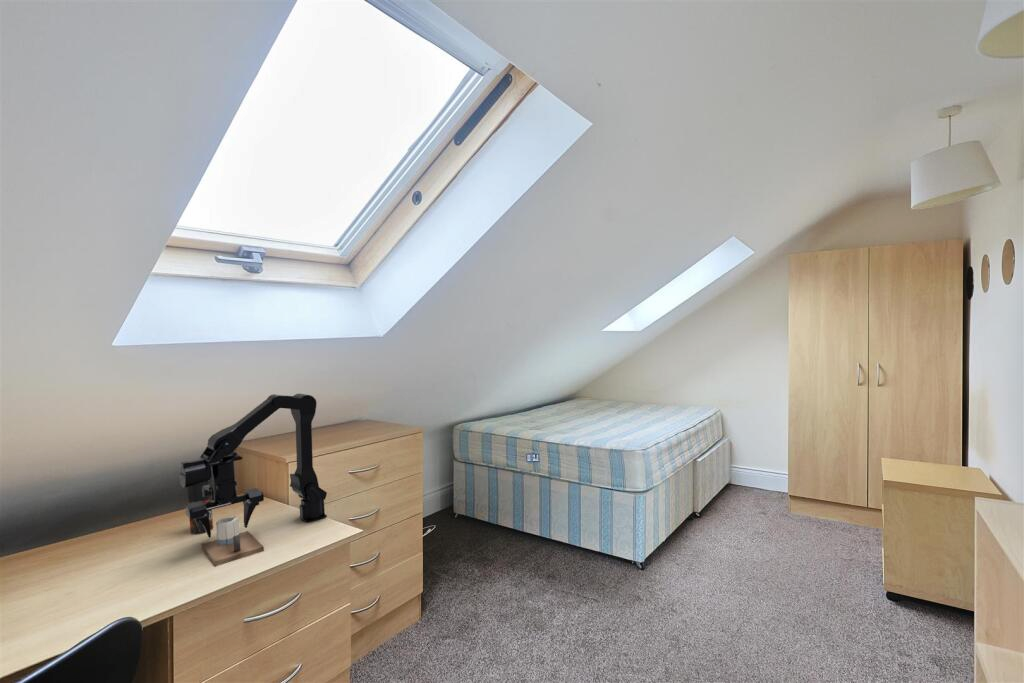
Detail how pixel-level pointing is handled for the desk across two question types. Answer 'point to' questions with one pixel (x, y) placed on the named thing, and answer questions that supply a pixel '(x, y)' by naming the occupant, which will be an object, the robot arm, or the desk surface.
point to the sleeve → (227, 530)
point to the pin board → (232, 548)
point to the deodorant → (197, 496)
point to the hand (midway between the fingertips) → (227, 532)
